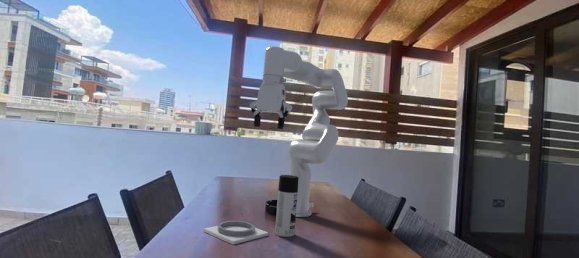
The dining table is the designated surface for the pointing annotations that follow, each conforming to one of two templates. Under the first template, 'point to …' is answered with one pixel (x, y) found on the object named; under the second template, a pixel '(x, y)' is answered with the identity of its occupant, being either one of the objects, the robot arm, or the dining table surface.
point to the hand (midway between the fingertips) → (268, 127)
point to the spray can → (286, 206)
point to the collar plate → (237, 239)
